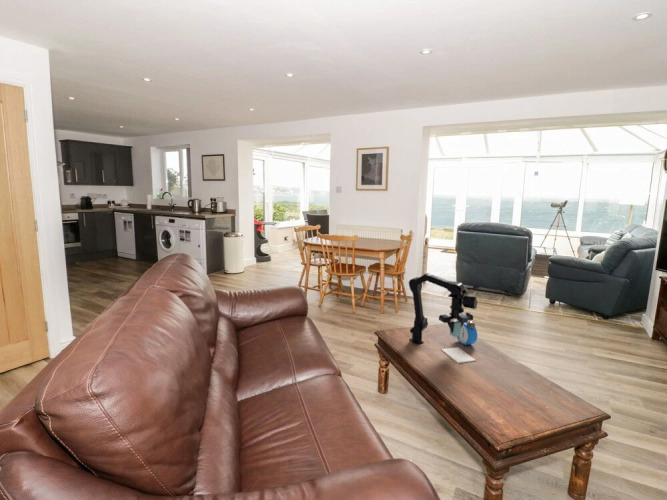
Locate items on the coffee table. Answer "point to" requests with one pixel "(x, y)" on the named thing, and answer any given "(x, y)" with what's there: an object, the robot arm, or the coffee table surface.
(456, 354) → the mat
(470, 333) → the alarm clock
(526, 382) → the coffee table surface
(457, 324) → the block
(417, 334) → the robot arm
